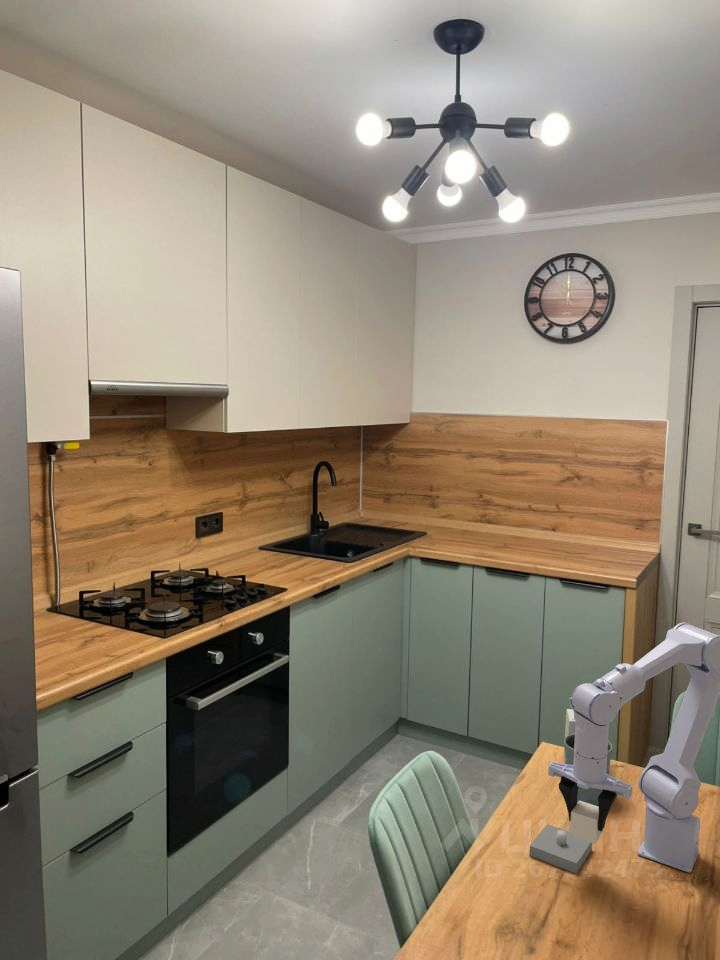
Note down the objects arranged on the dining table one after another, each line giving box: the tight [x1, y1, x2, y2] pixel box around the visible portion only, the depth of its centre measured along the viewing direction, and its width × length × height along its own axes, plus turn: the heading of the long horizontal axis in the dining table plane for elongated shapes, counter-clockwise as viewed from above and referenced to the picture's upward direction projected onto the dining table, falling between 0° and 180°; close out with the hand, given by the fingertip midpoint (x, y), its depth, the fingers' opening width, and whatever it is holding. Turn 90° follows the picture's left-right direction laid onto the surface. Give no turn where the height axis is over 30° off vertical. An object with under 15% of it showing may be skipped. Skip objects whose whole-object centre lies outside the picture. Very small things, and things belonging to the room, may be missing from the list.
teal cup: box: [563, 733, 613, 805], centre depth 159 cm, size 10×10×12 cm
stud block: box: [529, 823, 593, 875], centre depth 138 cm, size 9×9×4 cm
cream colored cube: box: [569, 801, 604, 845], centre depth 132 cm, size 5×5×4 cm
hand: (586, 823), depth 132 cm, fingers closed on cream colored cube, 4 cm apart
